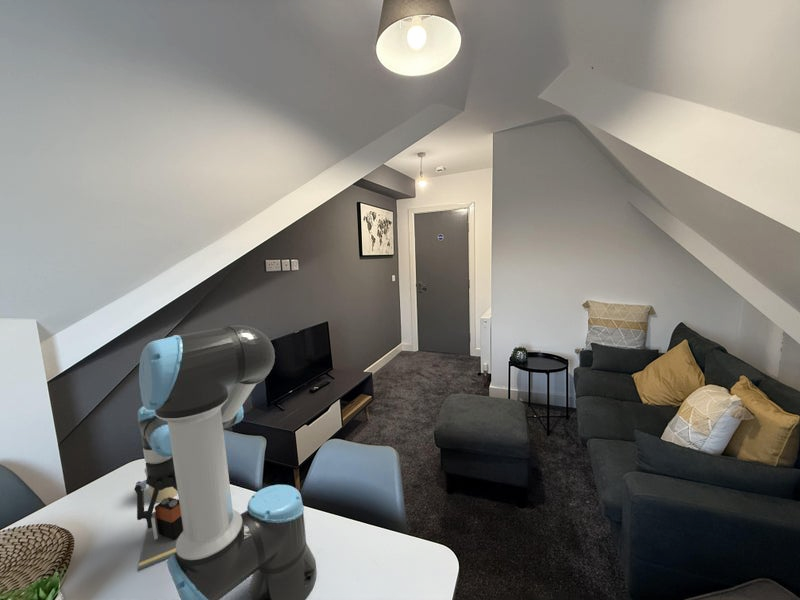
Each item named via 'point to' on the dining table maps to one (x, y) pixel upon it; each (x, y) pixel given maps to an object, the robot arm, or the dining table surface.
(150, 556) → the book
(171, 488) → the coffee cup
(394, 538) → the dining table surface
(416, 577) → the dining table surface
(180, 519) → the battery
